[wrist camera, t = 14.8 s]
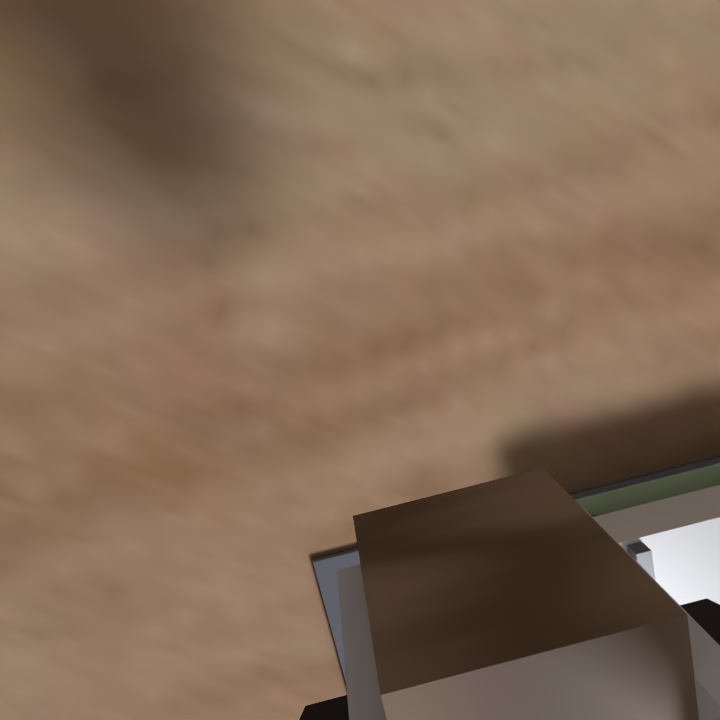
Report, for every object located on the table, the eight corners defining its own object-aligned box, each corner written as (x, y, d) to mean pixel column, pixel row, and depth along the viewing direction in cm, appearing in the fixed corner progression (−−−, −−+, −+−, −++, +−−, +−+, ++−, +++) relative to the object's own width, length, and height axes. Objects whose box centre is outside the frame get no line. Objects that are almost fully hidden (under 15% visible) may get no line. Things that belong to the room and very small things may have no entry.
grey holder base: (373, 779, 34) (381, 849, 30) (312, 559, 31) (313, 606, 27) (829, 657, 35) (894, 711, 31) (817, 431, 32) (888, 459, 28)
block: (394, 679, 16) (442, 931, 10) (352, 515, 15) (380, 695, 9) (571, 633, 16) (716, 855, 11) (543, 468, 15) (687, 614, 9)
